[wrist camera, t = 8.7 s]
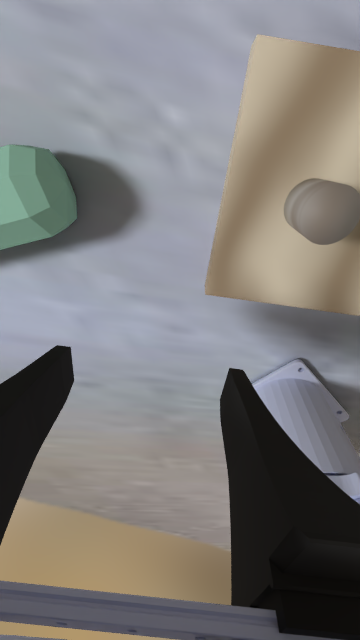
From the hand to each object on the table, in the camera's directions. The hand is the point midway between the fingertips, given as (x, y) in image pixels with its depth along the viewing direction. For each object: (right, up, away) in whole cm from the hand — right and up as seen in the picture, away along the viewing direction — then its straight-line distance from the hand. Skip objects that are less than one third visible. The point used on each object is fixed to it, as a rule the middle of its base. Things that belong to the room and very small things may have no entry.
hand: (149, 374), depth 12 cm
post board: (+14, +9, +5) cm, 17 cm away
